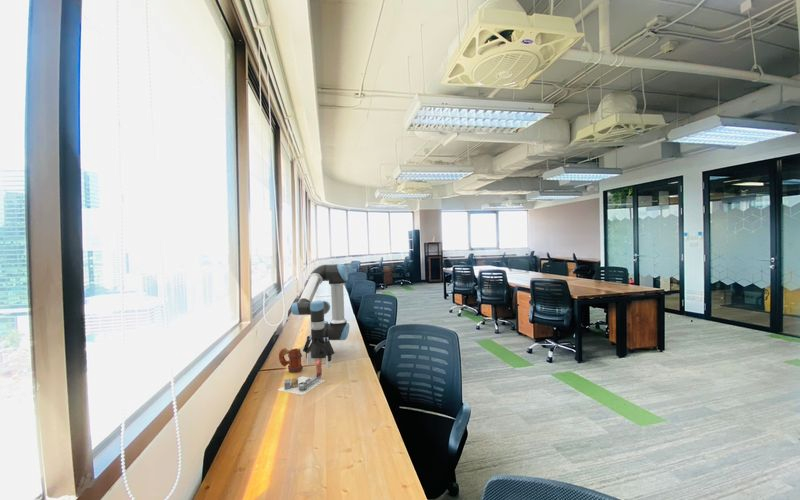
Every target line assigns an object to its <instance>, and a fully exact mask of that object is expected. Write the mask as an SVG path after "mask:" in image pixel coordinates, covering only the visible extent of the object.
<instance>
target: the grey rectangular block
mask: <svg viewBox="0 0 800 500" xmlns="http://www.w3.org/2000/svg"><path fill="white" fill-rule="evenodd" d="M291 380H292V379H291V378H287V379H284V383H283V384H284V387H285V390H286V389H291Z"/></svg>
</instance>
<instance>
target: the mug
mask: <svg viewBox="0 0 800 500" xmlns="http://www.w3.org/2000/svg"><path fill="white" fill-rule="evenodd" d="M286 355H287V356H288V359H289V360H286V358H285V356H286ZM302 357H303V354H302V352H301V348H296V347H295V348H291V349H290V350H289V349H287V347H284V348H282V349H280V351H279V353H278V359H279V363H280V364H281V366H282V367H287V369H288V373H291V374H294V373H299V372H301V371H302V370H303V368H304V367H303V365H302Z"/></svg>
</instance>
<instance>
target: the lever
mask: <svg viewBox="0 0 800 500" xmlns="http://www.w3.org/2000/svg"><path fill="white" fill-rule="evenodd" d="M322 364H323V363H322V358H316V359H315V365H316V366H315V371H316V374H315V376H313V377H308V378H309V379H307V380H305V382H302V383H299V389H301V390H302V389H306V388H307V386H308V385H310V384H311V383H313V382H314V381H316V380H318V379H321V378H322V376H323V369H322ZM310 378H311V379H310Z"/></svg>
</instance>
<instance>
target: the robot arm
mask: <svg viewBox="0 0 800 500" xmlns="http://www.w3.org/2000/svg"><path fill="white" fill-rule="evenodd" d="M348 275H349V273H348V269H347V266H346V265H345V264H340V263H336V264H334V263H333V264H321V265H319V266H317V267H315V268H314V269H313V270H312V271H311V273H310V274H309V276H308V281H307V283H306V285H305V286H304V287H305V288H304V290H303V291H302V294H301V296H300V297H299V300H298V302H297V301H296V302H292V304H291V309H290V311H291V313H292V314H293V315H295V316H309V315H310V328H311V329H310V335H307V336H306V342H305V344H304V345H303V349H302V351H303V352H305V357H306V364H307V366H309V365H310V364H312V359H322V358H326V359H325V361H326V362H325V363H326V368H330V367H331V361H332V356H333V355H334V354H335V351H334V348H333V346H332V344H331V342H330V341H345V340H347V339H348V337H349V333H350V323H348V322H347V321H348V320H347V319H346V318H345V300H344V298H345V297H344V296H345V295H344V293H345V292H344V285H345V284H346V281H348V279H349V277H348ZM323 282H328V285H330V291H331V292H330V294H331V305H330V302H328V301H327V300H323V301H322V300H314V298H315V295H316V293H317V290H318V288H319V286H320V285H321V284H322V283H323ZM313 300H314V301H313ZM330 309H331V320H330V321H327V320H325V315H326V314H328V313H329V312H330Z"/></svg>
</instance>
